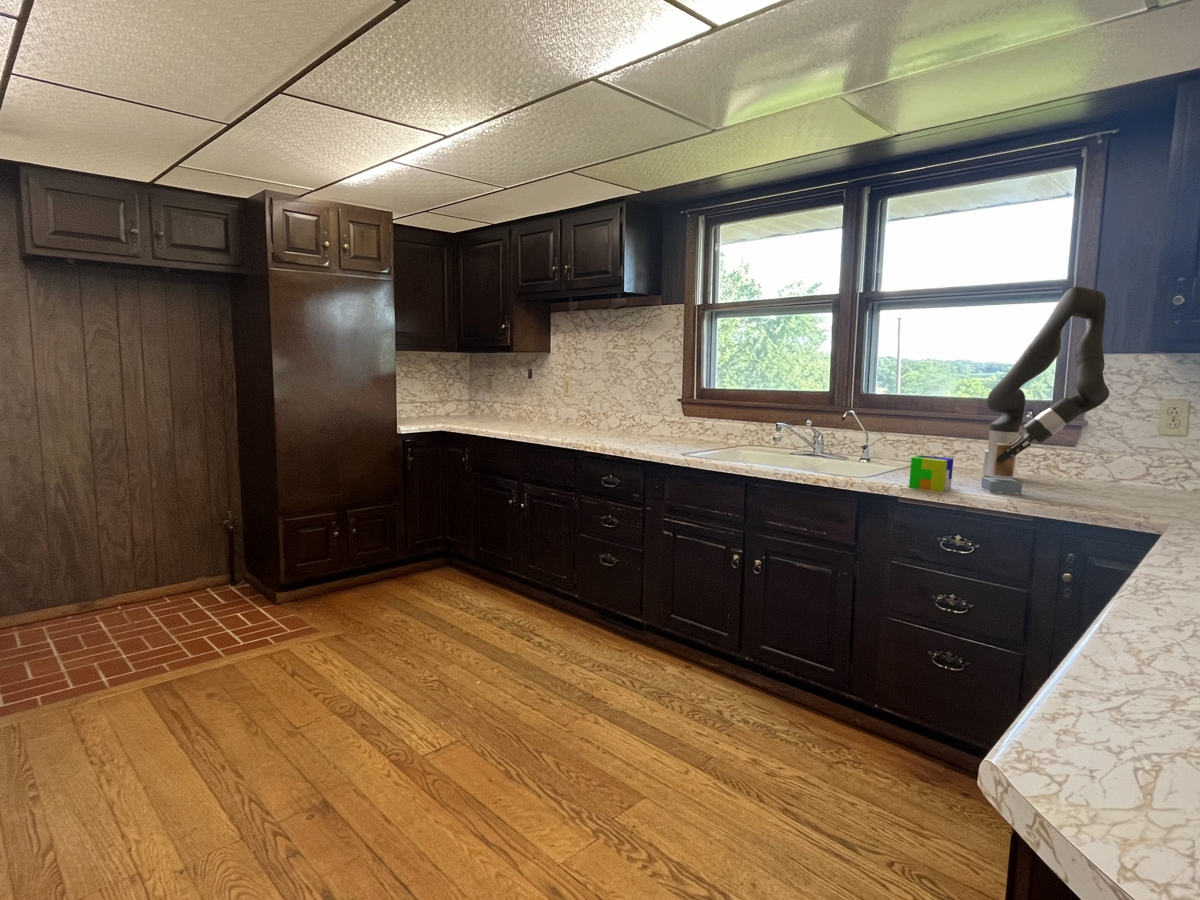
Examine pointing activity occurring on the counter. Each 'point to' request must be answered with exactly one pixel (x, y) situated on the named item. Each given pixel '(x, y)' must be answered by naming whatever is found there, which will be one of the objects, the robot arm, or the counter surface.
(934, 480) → the puzzle toy
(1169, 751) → the counter surface
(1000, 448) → the walnut block
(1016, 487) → the slate plinth
